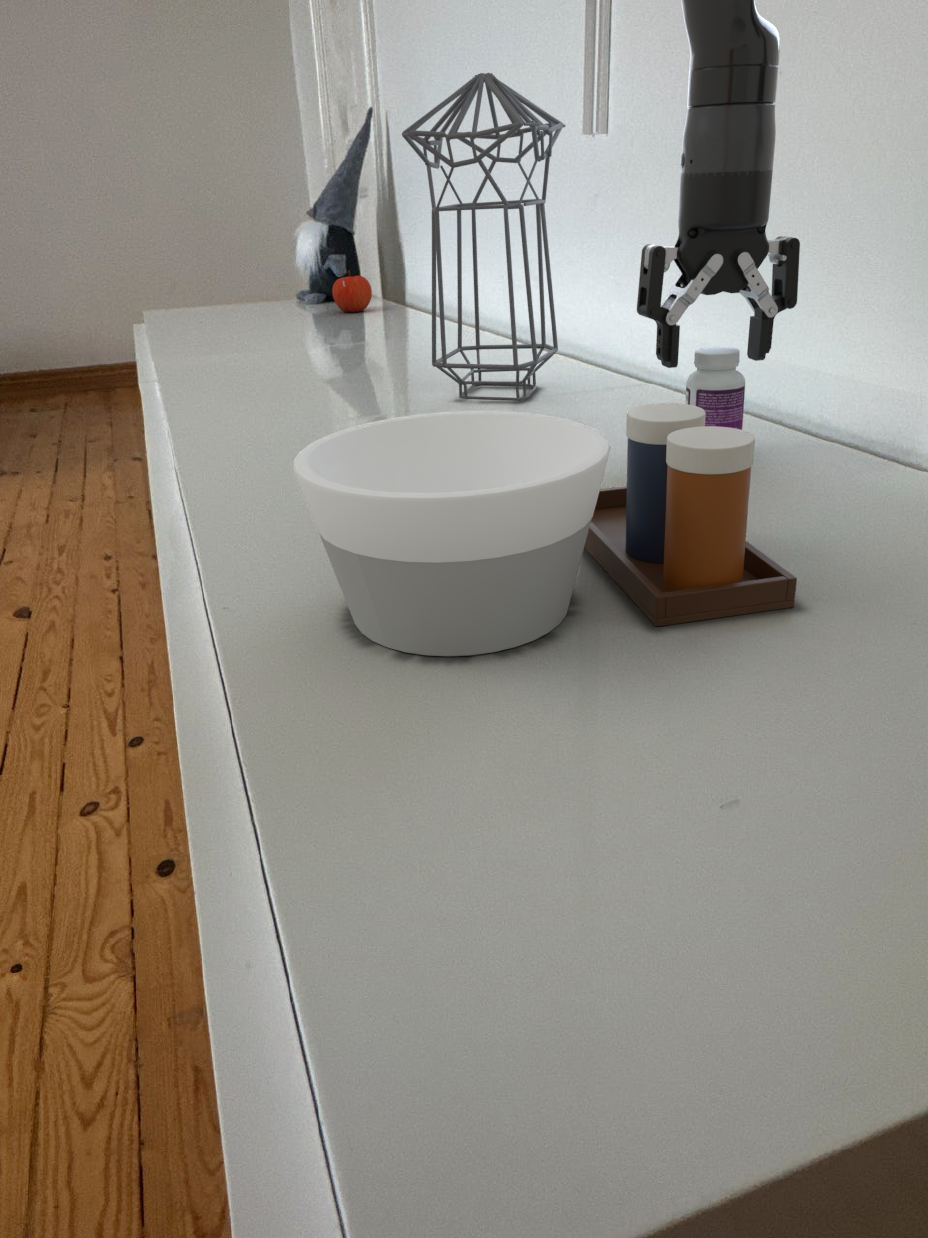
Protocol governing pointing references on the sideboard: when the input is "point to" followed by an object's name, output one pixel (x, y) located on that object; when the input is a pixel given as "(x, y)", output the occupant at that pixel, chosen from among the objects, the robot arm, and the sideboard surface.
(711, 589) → the tray
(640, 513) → the slate bottle
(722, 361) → the pill bottle
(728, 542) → the amber bottle
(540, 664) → the sideboard surface
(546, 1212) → the sideboard surface
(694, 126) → the robot arm
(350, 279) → the apple
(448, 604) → the bowl
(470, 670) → the sideboard surface
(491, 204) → the geometric lantern
